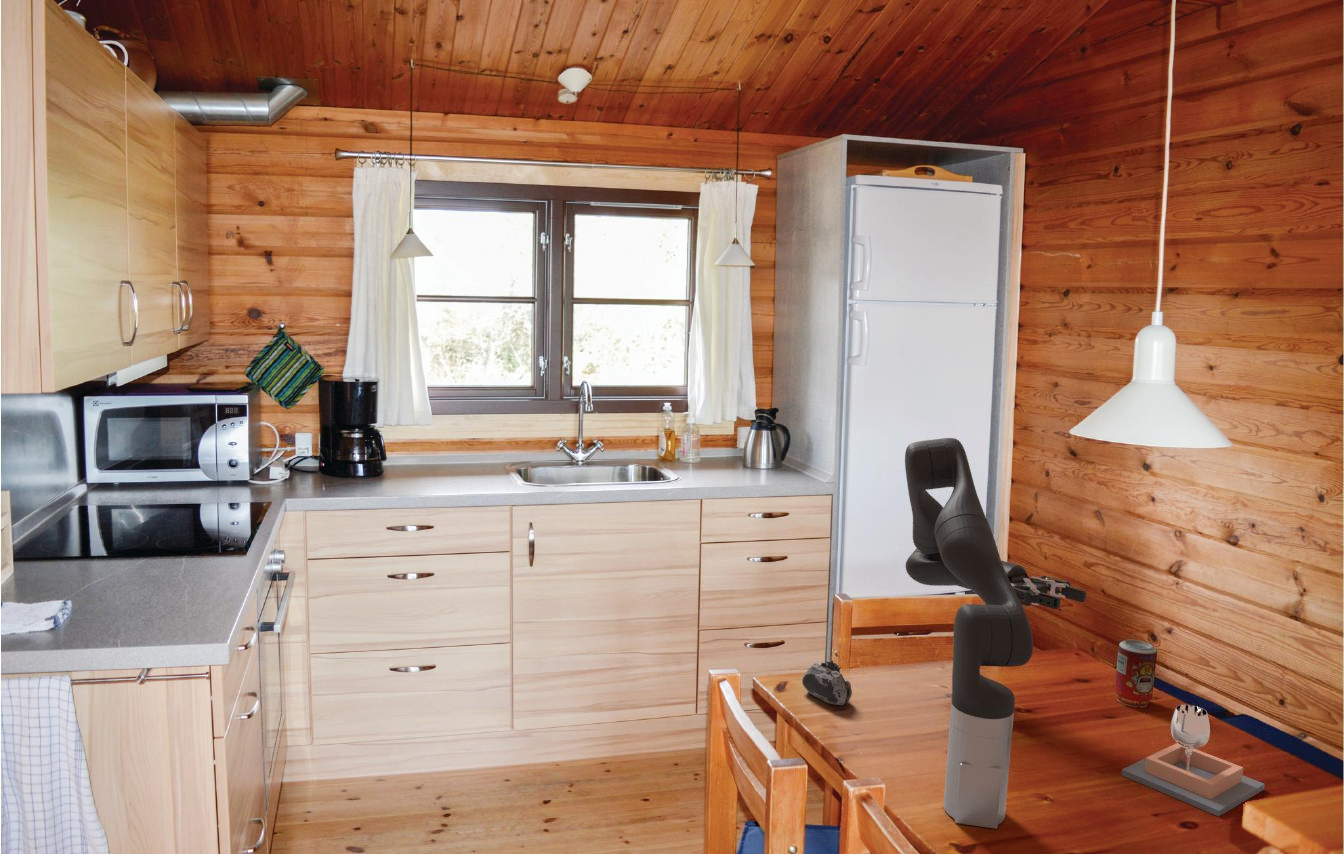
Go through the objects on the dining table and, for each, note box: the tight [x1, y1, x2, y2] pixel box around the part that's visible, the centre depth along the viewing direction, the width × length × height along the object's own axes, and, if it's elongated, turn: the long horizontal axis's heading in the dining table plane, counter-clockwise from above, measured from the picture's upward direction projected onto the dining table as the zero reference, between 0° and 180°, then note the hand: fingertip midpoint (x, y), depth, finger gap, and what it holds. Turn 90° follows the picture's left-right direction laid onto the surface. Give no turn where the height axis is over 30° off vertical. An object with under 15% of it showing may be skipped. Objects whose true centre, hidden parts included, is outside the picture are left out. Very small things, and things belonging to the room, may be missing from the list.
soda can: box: [1113, 638, 1158, 709], centre depth 198 cm, size 7×7×12 cm
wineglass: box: [1170, 704, 1211, 772], centre depth 164 cm, size 6×6×12 cm
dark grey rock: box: [801, 660, 853, 706], centre depth 195 cm, size 12×7×10 cm
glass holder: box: [1121, 742, 1266, 817], centre depth 165 cm, size 16×16×4 cm
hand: (1072, 600), depth 180 cm, fingers open, 8 cm apart
